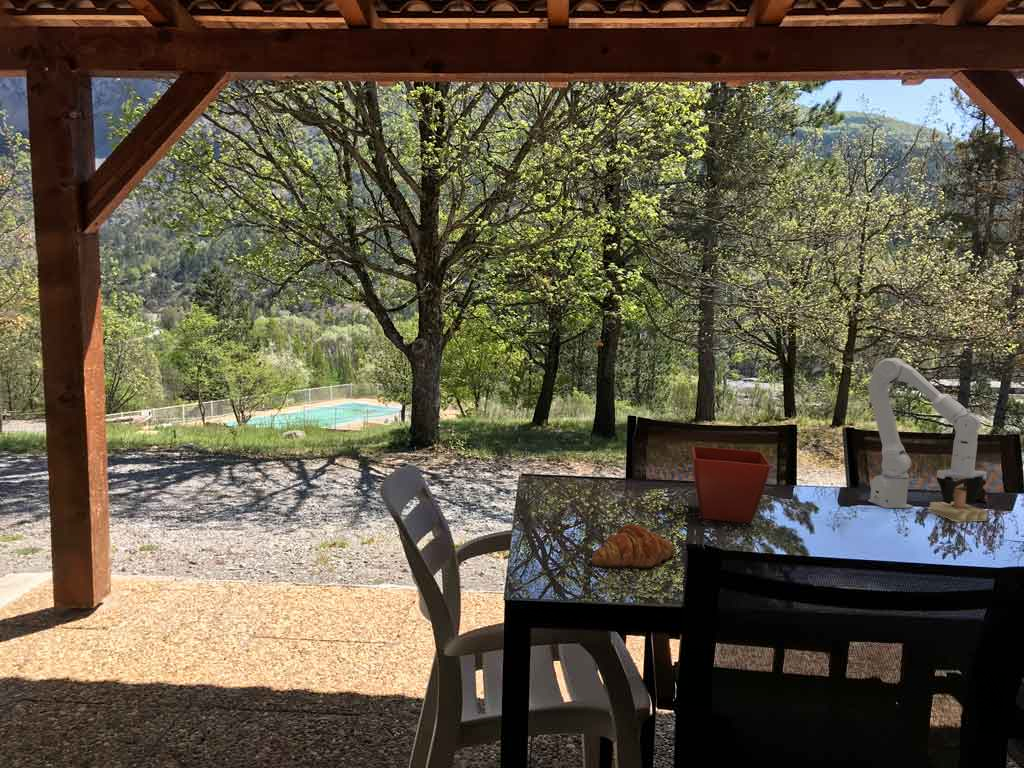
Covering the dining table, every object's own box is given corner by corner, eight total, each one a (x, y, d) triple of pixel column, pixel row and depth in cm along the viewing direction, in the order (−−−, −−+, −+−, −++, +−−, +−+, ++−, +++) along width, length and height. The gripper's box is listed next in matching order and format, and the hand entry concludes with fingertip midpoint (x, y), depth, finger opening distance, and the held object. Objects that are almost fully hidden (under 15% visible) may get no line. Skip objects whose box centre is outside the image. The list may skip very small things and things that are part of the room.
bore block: (955, 522, 208) (956, 511, 208) (929, 512, 218) (930, 502, 218) (986, 521, 210) (987, 511, 210) (959, 511, 220) (960, 501, 220)
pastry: (661, 579, 153) (663, 541, 152) (588, 567, 159) (590, 530, 158) (675, 555, 168) (677, 521, 168) (608, 545, 174) (610, 511, 173)
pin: (957, 516, 212) (959, 492, 212) (950, 513, 215) (952, 489, 214) (966, 516, 213) (968, 492, 212) (959, 513, 215) (961, 489, 215)
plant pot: (765, 528, 193) (771, 464, 191) (689, 521, 197) (694, 458, 195) (757, 510, 211) (761, 451, 210) (687, 503, 215) (691, 445, 213)
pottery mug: (991, 508, 229) (980, 484, 228) (958, 516, 234) (946, 493, 233) (989, 490, 239) (978, 468, 238) (956, 498, 244) (946, 476, 243)
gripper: (952, 458, 207) (946, 506, 208) (997, 459, 210) (991, 506, 211) (933, 453, 214) (928, 500, 215) (977, 454, 217) (972, 500, 218)
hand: (958, 502), depth 214 cm, fingers open, 7 cm apart
